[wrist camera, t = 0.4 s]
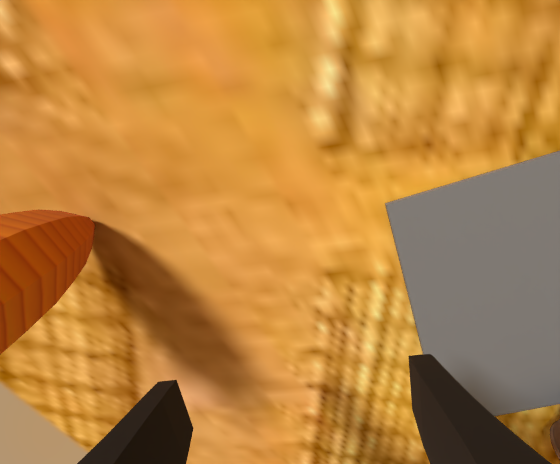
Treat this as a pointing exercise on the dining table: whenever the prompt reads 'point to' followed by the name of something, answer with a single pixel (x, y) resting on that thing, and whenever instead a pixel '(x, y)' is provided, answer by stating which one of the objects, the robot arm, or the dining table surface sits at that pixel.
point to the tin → (555, 437)
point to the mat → (488, 280)
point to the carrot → (38, 265)
